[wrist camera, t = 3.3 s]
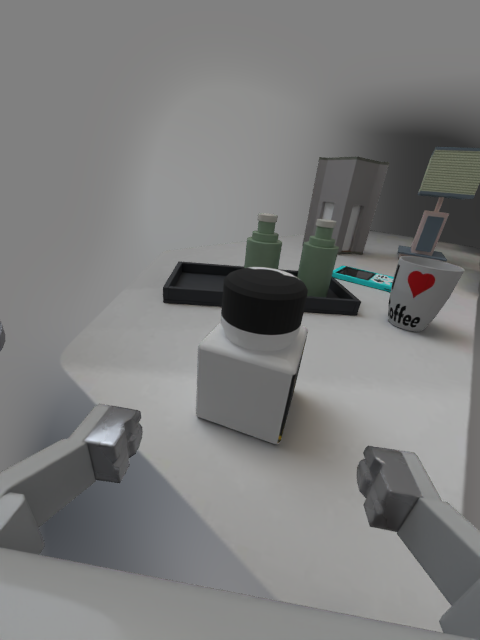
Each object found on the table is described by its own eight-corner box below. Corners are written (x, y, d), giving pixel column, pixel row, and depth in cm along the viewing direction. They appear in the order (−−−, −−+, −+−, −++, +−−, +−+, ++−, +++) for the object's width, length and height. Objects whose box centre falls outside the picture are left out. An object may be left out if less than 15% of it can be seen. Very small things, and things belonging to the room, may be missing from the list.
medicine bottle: (278, 448, 20) (312, 301, 15) (194, 417, 22) (198, 277, 17) (294, 390, 27) (322, 271, 21) (226, 370, 28) (237, 256, 23)
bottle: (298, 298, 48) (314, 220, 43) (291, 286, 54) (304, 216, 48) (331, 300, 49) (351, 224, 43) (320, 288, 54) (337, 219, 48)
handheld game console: (402, 295, 57) (404, 289, 56) (328, 276, 65) (329, 271, 64) (407, 285, 65) (409, 279, 64) (341, 269, 72) (342, 264, 72)
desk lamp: (443, 268, 87) (495, 148, 73) (395, 259, 93) (434, 147, 78) (438, 258, 102) (480, 157, 87) (396, 251, 107) (430, 155, 93)
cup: (367, 314, 46) (387, 255, 41) (403, 312, 48) (425, 256, 44) (407, 338, 39) (436, 271, 35) (447, 334, 42) (478, 271, 37)
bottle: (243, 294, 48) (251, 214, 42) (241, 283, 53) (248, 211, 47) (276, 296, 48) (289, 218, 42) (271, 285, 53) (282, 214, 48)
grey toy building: (361, 253, 96) (388, 163, 84) (364, 259, 88) (394, 159, 76) (302, 244, 101) (319, 157, 89) (300, 249, 93) (318, 153, 80)
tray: (163, 302, 42) (162, 287, 41) (178, 273, 56) (178, 261, 55) (356, 315, 45) (361, 301, 44) (325, 284, 59) (328, 273, 58)
